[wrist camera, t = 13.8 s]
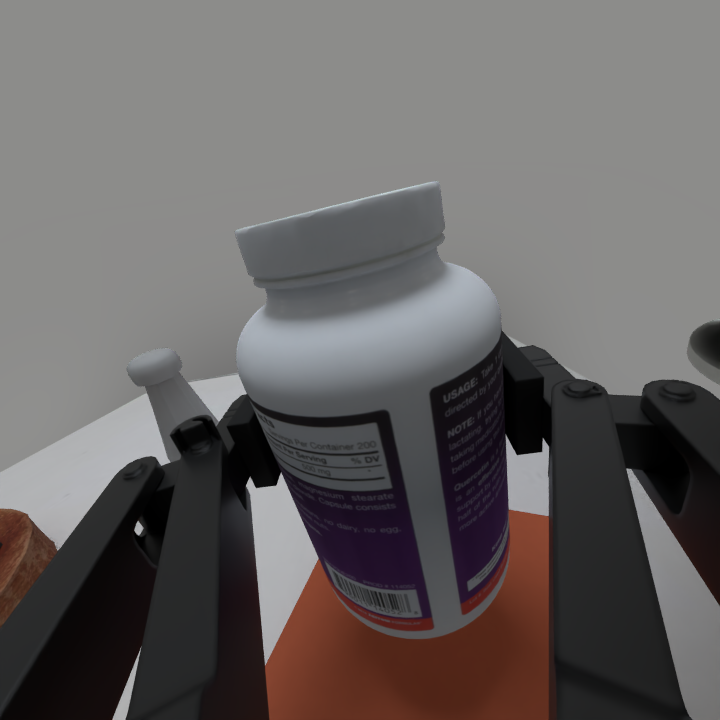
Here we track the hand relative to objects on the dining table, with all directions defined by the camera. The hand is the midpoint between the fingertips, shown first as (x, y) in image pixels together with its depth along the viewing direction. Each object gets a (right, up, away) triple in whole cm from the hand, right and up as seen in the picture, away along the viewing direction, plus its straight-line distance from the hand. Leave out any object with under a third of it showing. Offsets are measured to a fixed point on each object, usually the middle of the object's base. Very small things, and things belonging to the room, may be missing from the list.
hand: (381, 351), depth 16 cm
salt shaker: (-17, -12, +20) cm, 29 cm away
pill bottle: (+1, -9, -1) cm, 9 cm away
